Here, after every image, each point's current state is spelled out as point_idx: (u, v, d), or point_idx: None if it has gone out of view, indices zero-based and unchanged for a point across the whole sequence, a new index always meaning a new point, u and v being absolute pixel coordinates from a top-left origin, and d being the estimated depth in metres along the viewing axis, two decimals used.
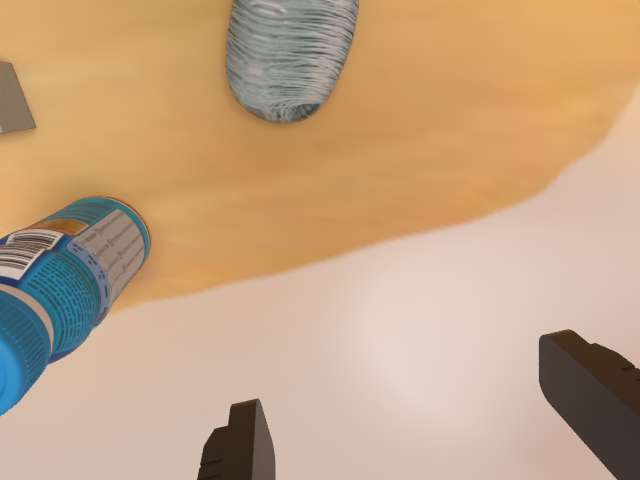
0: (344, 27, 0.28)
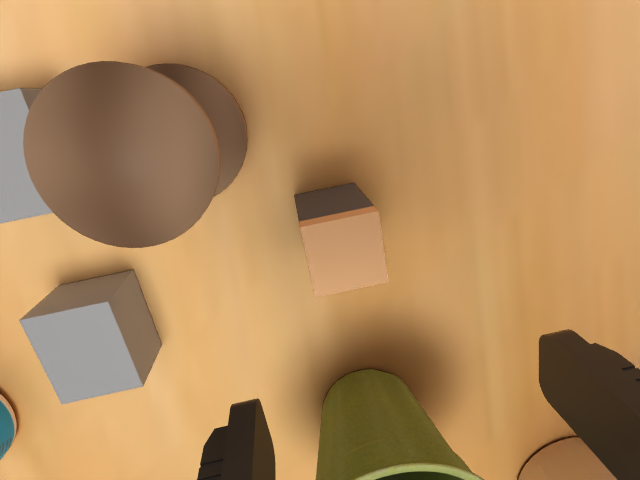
0: None
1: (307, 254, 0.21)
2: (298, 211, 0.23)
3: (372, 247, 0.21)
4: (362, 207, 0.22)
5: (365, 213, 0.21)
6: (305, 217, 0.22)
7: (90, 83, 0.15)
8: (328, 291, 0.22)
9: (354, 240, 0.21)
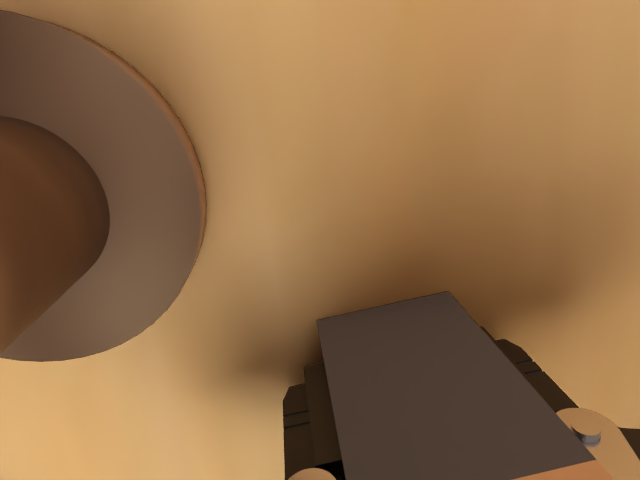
0: None
1: None
2: (339, 424, 0.08)
3: None
4: (554, 460, 0.07)
5: None
6: None
7: None
8: None
9: None
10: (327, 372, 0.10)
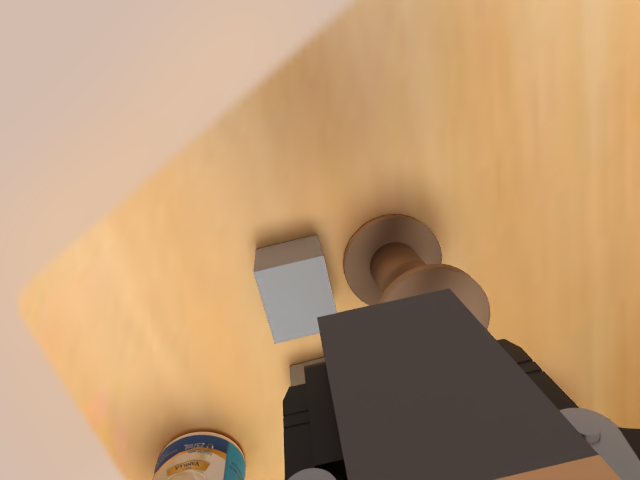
0: None
1: None
2: (340, 420, 0.08)
3: None
4: (556, 455, 0.07)
5: None
6: None
7: (426, 283, 0.24)
8: None
9: None
10: (328, 369, 0.10)
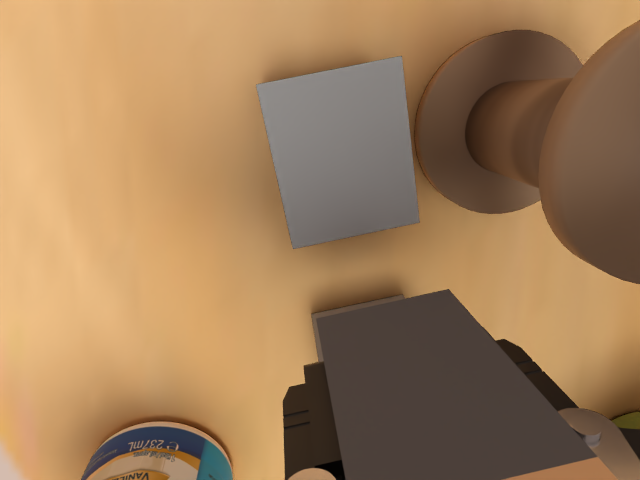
0: None
1: None
2: (338, 422, 0.08)
3: None
4: (555, 457, 0.07)
5: None
6: None
7: None
8: None
9: None
10: (326, 370, 0.10)
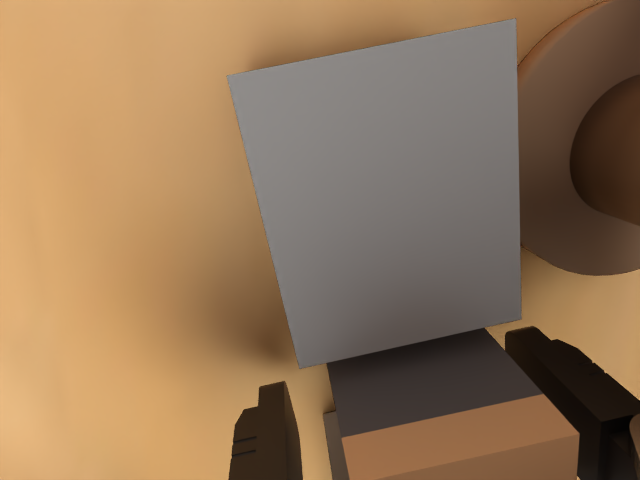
0: None
1: None
2: (331, 373, 0.10)
3: None
4: (509, 395, 0.08)
5: (539, 439, 0.07)
6: (356, 415, 0.08)
7: None
8: None
9: None
10: None
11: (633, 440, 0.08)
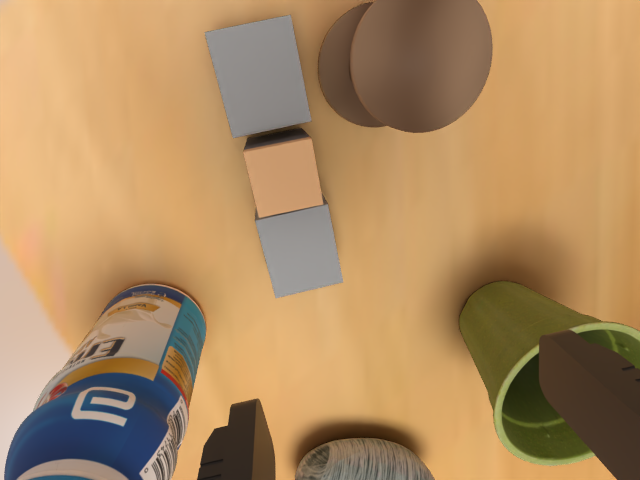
0: None
1: (250, 177, 0.24)
2: (246, 145, 0.26)
3: (307, 172, 0.24)
4: (299, 138, 0.25)
5: (300, 140, 0.24)
6: (250, 147, 0.25)
7: None
8: (270, 212, 0.25)
9: (291, 165, 0.24)
10: (246, 142, 0.28)
11: None
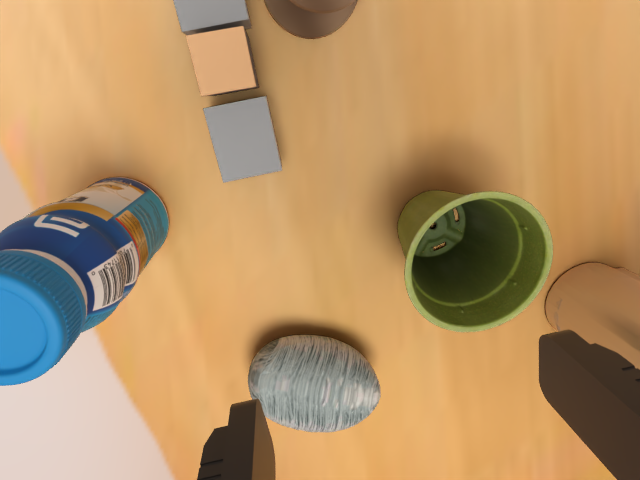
0: (315, 431, 0.41)
1: (192, 58, 0.29)
2: None
3: (240, 56, 0.29)
4: None
5: (233, 27, 0.29)
6: None
7: None
8: (210, 91, 0.30)
9: (227, 49, 0.29)
10: None
11: None
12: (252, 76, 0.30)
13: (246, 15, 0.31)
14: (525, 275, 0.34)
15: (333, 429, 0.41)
